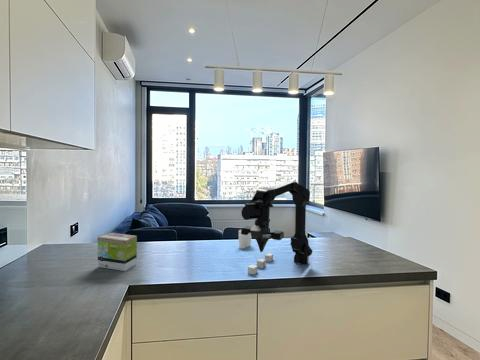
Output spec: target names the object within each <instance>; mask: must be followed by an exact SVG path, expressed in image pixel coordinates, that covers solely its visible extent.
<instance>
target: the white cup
mask: <svg viewBox="0 0 480 360" xmlns="http://www.w3.org/2000/svg"><path fill="white" fill-rule="evenodd" d="M252 238H253V237H252V236H251V233H249V234H248V235H243V234H241V229H239V230H238V248H239V249H245V248H247V247H248V248H249V247H251V246H252V245H251V244H252Z"/></svg>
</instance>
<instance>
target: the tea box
mask: <svg viewBox="0 0 480 360" xmlns="http://www.w3.org/2000/svg"><path fill="white" fill-rule="evenodd" d="M137 245H138V236H137V235H131V234H125V233H118V232H116V233H115V232H109V233H106V234H104V235H101V236H98V237H97V268H101V269H102V268H103V269H110V270H116V271H121V272H126V271H128V270H130V269H131V268H133V267H135V266H136V265H137V258H138V256H137V254H138V252H137V250H138V248H137V247H138V246H137Z"/></svg>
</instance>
